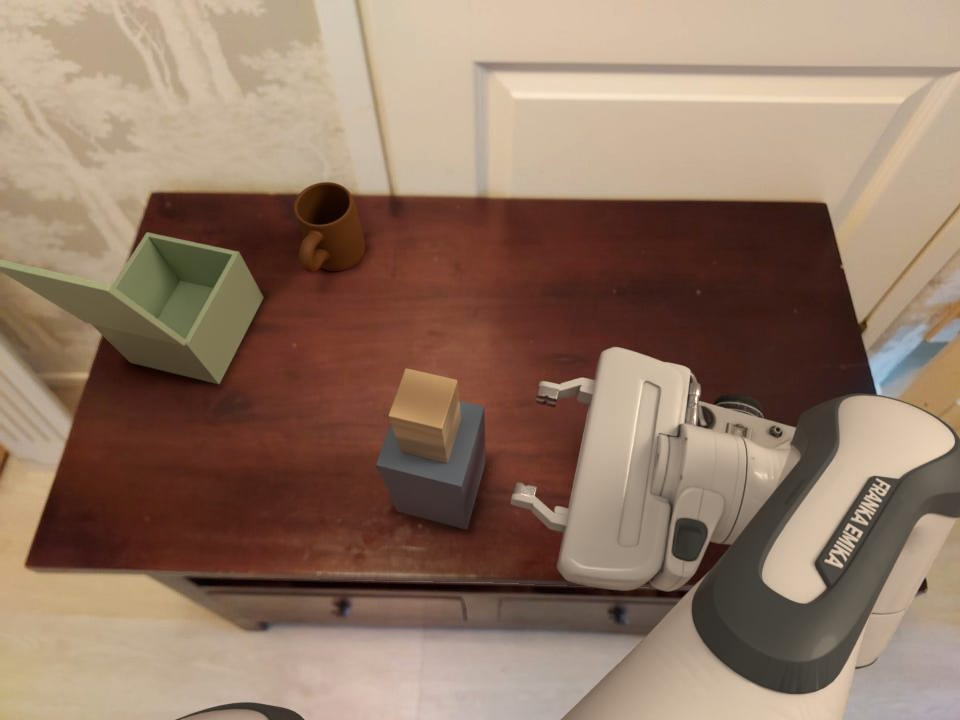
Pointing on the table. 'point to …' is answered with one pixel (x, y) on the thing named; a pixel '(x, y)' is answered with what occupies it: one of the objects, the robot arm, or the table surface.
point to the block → (426, 415)
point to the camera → (744, 421)
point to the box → (187, 305)
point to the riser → (438, 474)
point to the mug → (328, 228)
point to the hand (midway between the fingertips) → (525, 440)
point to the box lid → (91, 301)
